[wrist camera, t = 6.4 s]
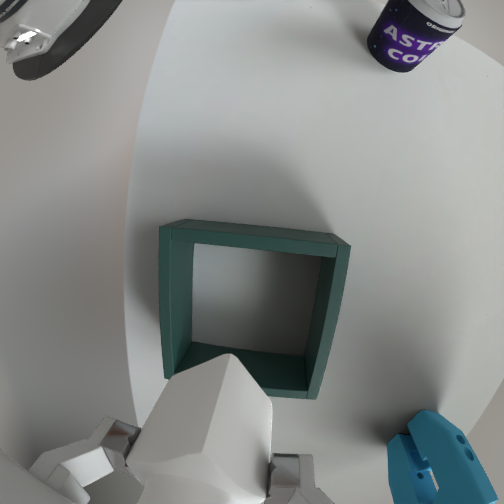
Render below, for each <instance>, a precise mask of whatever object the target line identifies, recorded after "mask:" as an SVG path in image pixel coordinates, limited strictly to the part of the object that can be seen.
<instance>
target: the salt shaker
mask: <svg viewBox="0 0 504 504" xmlns="http://www.w3.org/2000/svg"><path fill="white" fill-rule="evenodd" d="M272 410H273V408H272V402H271V400H270V399H269V397H268V396H267V395H266V394H265V392H264V391H263V390H262V389H261V387H260V386H259V385H258V384H257V382H256V381H255V380H254V379H253V377H252V376H251V375H250V374H249V372H248V371H247V370H246V368H245V367H244V366H243V365H242V363H241V362H240V361H239V359H238V358H237V357H236V356H234V355H233V354H231V353H230V354H223V355H221V356H218V357H216V358H214V359H211V360H209V361H207V362H204V363H202V364H200V365H197V366H195V367H192V368H190V369H187V370H185V371H182V372H180V373H177V374H175V375H173V376H172V377H171V378H170V380H169V381H168V383H167V385H166V386H165V388H164V390H163V392H162V394H161V395H160V397H159V399H158V401H157V402H156V404H155V406H154V408H153V410H152V411H151V413H150V415H149V417H148V419H147V421H146V422H145V424H144V426H143V428H142V430H141V432H140V434H139V436H138V437H137V439H136V441H135V442H134V444H133V446H132V448H131V450H130V452H129V454H128V456H127V458H126V463H127V466H128V468H129V470H130V472H131V473H132V474H133V475H134V476H135V477H136V479H137V480H138V481H139V482H140V483H141V484H142V485H143V486H145V488H144V490H143V493H142V495H141V497H140V499H139V502H138V503H136V504H260V503H262V502H263V501H265V500H266V496H267V484H268V480H269V479H268V470H269V463H270V449H271V431H272Z"/></svg>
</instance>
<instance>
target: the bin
mask: <svg viewBox="0 0 504 504" xmlns="http://www.w3.org/2000/svg"><path fill="white" fill-rule="evenodd" d="M194 243H201V244H210V245H220V246H229V247H239V248H248V249H258V250H267V251H277V252H286V253H295V254H305V255H314V256H321V263H320V269H319V276H318V282H317V288H316V294H315V300H314V306H313V312H312V317H311V322H310V328H309V333H308V338H307V343H306V348H305V352H304V356H298V355H286V354H276V353H266V352H258V351H249V350H242V349H234V348H227V347H221V346H214V345H208V344H202V343H197V342H192V277H193V249H194ZM350 250H351V246H350V245H349V244H348V243H346V242H345V241H344V240H342V239H341V238H339V237H338V236H337V235H335V234H331V233H322V232H314V231H305V230H296V229H287V228H277V227H268V226H258V225H248V224H237V223H227V222H216V221H204V220H193V219H183V220H180V221H176V222H173V223H169V224H166V225H162V226H159V310H160V330H161V345H162V358H163V369H164V378H165V379H169V380H170V378H171V377H172V376H173V375H175V374H177V373H180V372H182V371H185V370H187V369H190V368H192V367H195V366H197V365H200V364H202V363H204V362H207V361H209V360H211V359H214V358H216V357H218V356H221V355H223V354H230V353H231V354H233V355H234V356H236V357H237V358H238V359H239V361H240V362H241V363H242V365H243V366H244V367H245V368H246V370H247V371H248V372H249V374H250V375H251V376H252V377H253V379H254V380H255V381H256V382H257V384H258V385H259V386H260V387H261V389H262V390H263V391H264V392H265V394H266V395H267V396H273V397H284V398H299V399H305V398H306V399H317V396H318V392H319V389H320V386H321V382H322V379H323V375H324V372H325V368H326V364H327V361H328V357H329V353H330V349H331V345H332V341H333V337H334V333H335V328H336V324H337V320H338V315H339V310H340V306H341V301H342V296H343V291H344V285H345V280H346V274H347V269H348V263H349V257H350Z"/></svg>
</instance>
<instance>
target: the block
mask: <svg viewBox="0 0 504 504" xmlns="http://www.w3.org/2000/svg"><path fill="white" fill-rule="evenodd" d="M407 426H408V428H409V430H410V433H411V435H402V434H397V435H396V436H395V437H394V438H393V439H392V440H391V441H390V442H389V443H388V444H387V453H388V479H389V486H390V489H391V493H392V497H393V501H394V504H494V503H495V502H496V501H497V500H498V497H497V495H496V493H495V491H494V489H493V487H492V485H491V483H490V481H489V479H488V477H487V475H486V473H485V471H484V469H483V467H482V465H481V464H480V462H479V460H478V458H477V456H476V454H475V453H474V451H473V449H472V447H471V446H470V444H469V442H468V440H467V439H466V437H465V435H464V434H463V432H462V431H461V430H459V429H458V428H457V427H456V426H454V425H453V424H452V423H450V422H449V421H448V420H447V419H445V418H444V417H443V416H441V415H440V414H439V413H438V412H433V411H428V410H422V411H420V412H418V413H417V414H416V415H415V416H414V417H413V419H412V420H411V421H410V422H409V423H408V424H407ZM431 470H432V472H433V474H434V477H435V479H436V482H437V484H438V487H439V489H438V492H437V490H436V488H435V485H434V483H433V480H432V477H431V475H430V472H429V471H431Z"/></svg>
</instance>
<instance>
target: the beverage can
mask: <svg viewBox="0 0 504 504" xmlns="http://www.w3.org/2000/svg"><path fill="white" fill-rule="evenodd" d="M464 16H465V8H464V6H463V4H462V2H461V1H460V0H388V2H387V4H386V5H385V7H384V9H383V11H382V12H381V14H380V16H379V18H378V19H377V21H376V23H375V25H374V27H373V28H372V30H371V32H370V34H369V35H368V38H367V45H368V48H369V51H370V52H371V54H372V55H373V57H374V58H375V59H376V60H377V61H378V62H379V63H380V64H382V65H383V66H385V67H386V68H388V69H390V70H393V71H396V72H402V73H404V72H409V71H411V70H413V69H414V68H415V67H416V66H417V65H418V64H419V63H420V62H422V61H423V60H424V59H425V58H426V57H427V56H428V55H429V54H431V53H432V52H433V51H434V50H435V49H436V48H437V47H439V46H440V45H441V44H442V43H443V42H444V41H445V40H447V39H448V38H449V37H450V36H451V35H452V34H454V33H455V32H456V31H457V30H458V29H459V28H460V27H461V26H462V20H463V18H464Z"/></svg>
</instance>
